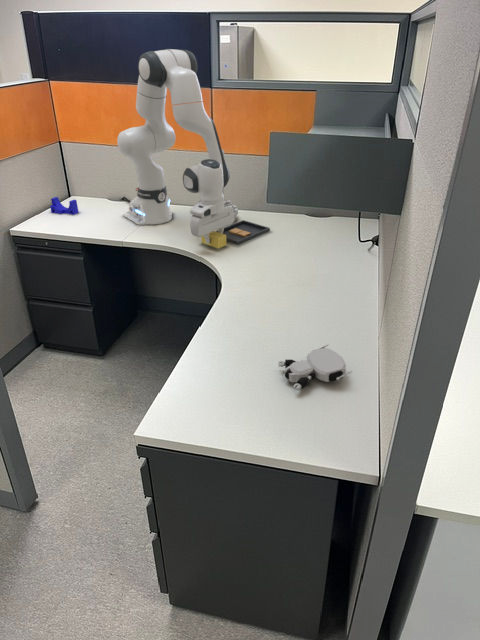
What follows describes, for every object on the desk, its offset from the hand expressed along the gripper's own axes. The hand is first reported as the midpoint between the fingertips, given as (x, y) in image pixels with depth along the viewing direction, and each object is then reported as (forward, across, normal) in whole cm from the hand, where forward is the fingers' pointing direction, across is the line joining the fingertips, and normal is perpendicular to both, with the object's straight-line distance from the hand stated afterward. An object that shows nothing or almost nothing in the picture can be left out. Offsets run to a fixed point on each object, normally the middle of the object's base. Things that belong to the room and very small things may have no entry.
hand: (213, 240), depth 192 cm
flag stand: (+2, -23, -17) cm, 29 cm away
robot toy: (+2, +43, +76) cm, 87 cm away
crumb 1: (+2, -15, -2) cm, 15 cm away
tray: (+2, -16, 0) cm, 16 cm away
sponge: (+2, 0, 0) cm, 2 cm away
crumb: (+2, -15, +2) cm, 15 cm away
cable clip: (+2, +16, -80) cm, 82 cm away
